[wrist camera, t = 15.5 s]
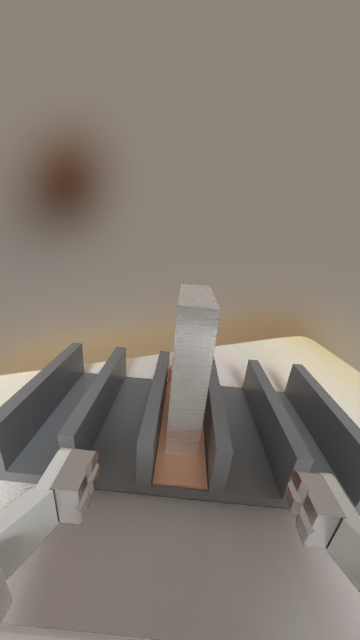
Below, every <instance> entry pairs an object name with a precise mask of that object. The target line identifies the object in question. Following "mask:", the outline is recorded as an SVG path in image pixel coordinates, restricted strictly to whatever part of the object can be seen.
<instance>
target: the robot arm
mask: <svg viewBox="0 0 360 640" xmlns="http://www.w3.org/2000/svg"><path fill="white" fill-rule="evenodd" d="M98 458H99V455H98V452H97V451H89V450H81V449H73V448H64V447H61V448H60V449H59V450H58V451H57V453H56V455H55V456H54V458H53V459H52V461H51V463H50V464H49V466H48V467H47V469H46V470H45V472H44V474H43V475H42V477H41V478H40V480H39V482H38V483H37V485H36V486H35V488H30V489H28V490H27V491H26V492H24V493H23V494H22V495H20V496H19V497H18V498H16V499H15V500H13V501H12V502H11V503H9V504H8V505H7V506H5V507H4V508H3V509H1V510H0V640H156V639H146V638H137V637H127V636H117V635H108V634H98V633H88V632H78V631H69V630H59V629H49V628H40V627H30V626H20V625H10V624H1V623H2V621H3V619H4V617H5V615H6V613H7V611H8V609H9V607H10V604H11V602H12V599H11V594H10V591H9V588H8V585H7V582H6V580H7V579H8V578H9V577H10V576H11V575H12V574H13V573H14V571H15V570H16V569H17V568H18V567H19V566H20V565H21V564H22V563H23V562H24V561H25V560H26V559H27V558H28V556H29V555H30V554H31V553H32V552H33V551H34V550H35V549H36V548H37V547H38V546H39V545H40V544H41V543H42V541H43V540H44V539H45V538H46V537H47V536H48V535H49V534H50V533H51V532H52V531H53V530H54V529H55V528H56V527H57V525H58V523H72V524H82V521H83V519H84V516H85V513H86V511H87V508H88V506H89V496H90V495H91V494H92V493H93V492H94V490H95V487H96V484H97V480H98V476H99V464H98V463H97V460H98ZM290 477H291V479H292V481H290V482H289V483H288V484H287V487H286V499H287V504H288V507H289V509H290V511H291V513H292V514H293V515H294V516H295V517H296V523H295V526H296V528H297V531H298V533H299V536H300V539H301V541H302V544H303V546H305V547H313V548H320V549H327V552H328V553H329V555H330V556H331V557H332V558H333V560H334V561H335V562H336V563H337V565H338V566H339V567H340V568H341V570H342V571H343V572H344V574H345V575H346V576H347V577H348V579H349V580H350V581H351V582H352V584H353V585H354V586H355V587H356V589H357V590H358V591H359V592H360V516H359V515H358V513H357V512H356V510H355V508H354V507H353V505H352V504H351V502H350V500H349V499H348V497H347V496H346V494H345V492H344V491H343V489H342V487H341V486H340V484H339V483H338V481H337V479H336V478H335V477H334V476H333V475H332V474H329V473H318V472H311V471H299V470H294V471H292V473H291V475H290Z"/></svg>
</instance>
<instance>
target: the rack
mask: <svg viewBox="0 0 360 640" xmlns="http://www.w3.org/2000/svg"><path fill="white" fill-rule="evenodd" d="M169 353H170V352H163V351H161V352H160V355H159V359H158V363H157V367H156V370H155V374H154V378H153V380H152V379H142V378H132V377H126V348H122V347H116V349H115V350H114V352H113V353H112V355H111V356H110V358H109V359H108V360H107V362H106V363H105V365H104V366H103V368H102V369H101V371H100V372H99V374H91V373H84V366H83V353H82V344H80V343H72V344H71V345H70V346H69V347H68V348H66V349H65V350H64V351H63V352H62V353H61V354H60V355H58V356H57V357H56V358H55V359H54V360H53V361H52V362H51V363H50V364H48V365H47V366H46V367H45V368H44V369H43V370H42V371H40V372H39V373H38V374H37V375H36V376H35V377H34V378H33V379H31V380H30V381H29V382H28V383H27V384H26V385H25V386H23V387H22V388H21V389H20V390H19V391H18V392H17V393H16V394H14V395H13V396H12V397H11V398H10V399H9V400H8V401H7V402H5V403H4V404H3V405H2V406H1V407H0V480H8V481H18V482H27V483H38V482H39V480H40V478H41V477H42V475H43V474H44V472H45V470H46V469H47V467H48V466H49V464H50V463H51V461H52V459H53V458H54V456H55V455H56V453H57V451H58V450H59V449H60V448H61V447H64V448H73V449H81V450H89V451H97V452H98V455H99V458H98V460H97V463H98V464H99V476H98V480H97V484H96V487H95V489H97V490H107V491H116V492H126V493H136V494H146V495H156V496H166V497H176V498H186V499H195V500H205V501H215V502H225V503H235V504H245V505H255V506H265V507H274V508H284V509H289V507H288V504H287V499H286V487H287V484H288V483H289V482H290V481H292V479H291V477H290V475H291V473H292V471H294V470H299V471H311V472H318V473H329V474H332V475H333V476H334V477H335V478H336V479H337V481H338V483H339V484H340V486H341V487H342V489H343V491H344V492H345V494H346V496H347V497H348V499H349V500H350V502H351V504H352V505H353V507H354V508H355V510H356V512H357V513H358V515H359V516H360V428H359V427H358V426H357V425H356V424H355V423H354V422H353V421H352V420H351V418H350V417H349V416H348V415H347V414H346V413H345V412H344V411H343V410H342V408H341V407H340V406H339V405H338V404H337V403H336V402H335V401H334V400H333V398H332V397H331V396H330V395H329V394H328V393H327V392H326V391H325V390H324V388H323V387H322V386H321V385H320V384H319V383H318V382H317V381H316V380H315V378H314V377H313V376H312V375H311V374H310V373H309V372H308V371H307V370H306V368H305V367H304V366H303V365H299V364H293V366H292V369H291V372H290V376H289V379H288V382H287V386H286V389H285V392H276V391H275V390H274V388H273V386H272V385H271V383H270V381H269V379H268V378H267V376H266V374H265V372H264V371H263V369H262V367H261V365H260V363H259V362H258V361H257V360H249V361H248V365H247V370H246V374H245V379H244V383H243V388H235V387H224V386H220V384H219V380H218V375H217V370H216V365H215V360H214V356H213V361H212V367H211V374H210V380H209V387H208V393H207V399H206V406H205V412H204V419H203V425H202V431H201V438H200V444H199V451H198V455H188V454H178V453H167V452H165V447H166V435H167V423H168V412H169V400H170V388H171V377H172V366H169ZM168 366H169V375H168ZM167 378H168V381H167Z"/></svg>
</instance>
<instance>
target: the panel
mask: <svg viewBox="0 0 360 640" xmlns="http://www.w3.org/2000/svg"><path fill="white" fill-rule="evenodd" d="M219 316H220V307H219V305H218V303H217V300H216V298H215V296H214V294H213V292H212V290H211V288H210V286H200V285H190V284H181V288H180V294H179V300H178V309H177V319H176V331H175V343H174V354H173V365H172V377H171V388H170V400H169V412H168V423H167V435H166V447H165V452H167V453H178V454H188V455H198V451H199V444H200V438H201V431H202V425H203V419H204V412H205V406H206V399H207V393H208V387H209V380H210V374H211V367H212V361H213V354H214V348H215V342H216V335H217V329H218V322H219Z"/></svg>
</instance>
